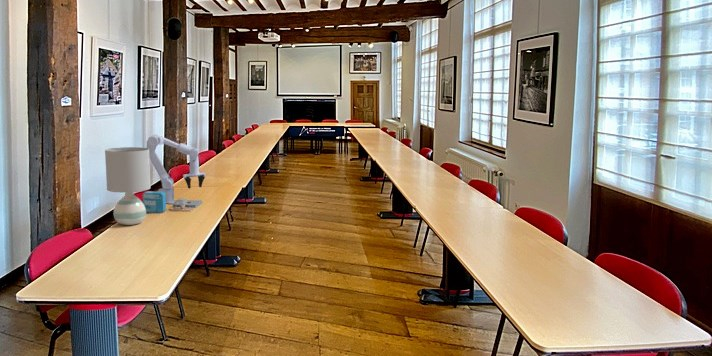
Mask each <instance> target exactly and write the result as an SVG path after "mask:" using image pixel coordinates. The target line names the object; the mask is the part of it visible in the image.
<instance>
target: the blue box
mask: <svg viewBox="0 0 712 356" xmlns="http://www.w3.org/2000/svg"><path fill="white" fill-rule="evenodd" d="M142 202H143V204H144V206H145V208H146V214H147V213H150V214H152V213H153V214H162V213H164V212H165V211H166V210H167V203H166V194H165V193H164V192H158V191H152V190H151V191H149V190H146V192H144V193H142Z"/></svg>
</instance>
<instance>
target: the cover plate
mask: <svg viewBox="0 0 712 356" xmlns="http://www.w3.org/2000/svg"><path fill="white" fill-rule="evenodd" d="M186 200H187V204H185V207H190V208H195V209H196V208H198V207H199V206H201V205H203V199H201V200H200V199H199V200H198V199H197V200H196V199H186ZM175 207H180V203H178V201H176V202H174V203H173V204H172V209H173V208H175Z"/></svg>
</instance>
